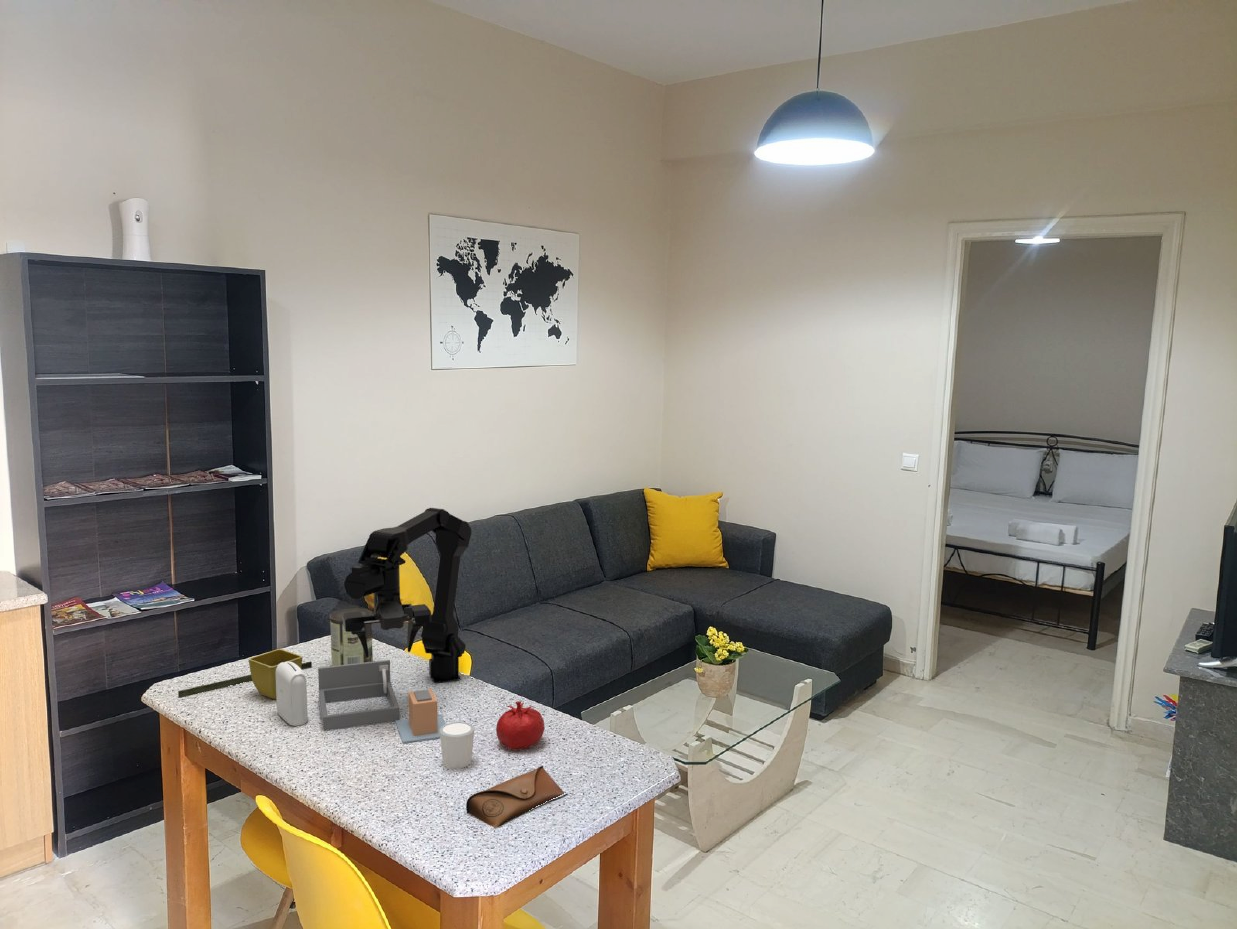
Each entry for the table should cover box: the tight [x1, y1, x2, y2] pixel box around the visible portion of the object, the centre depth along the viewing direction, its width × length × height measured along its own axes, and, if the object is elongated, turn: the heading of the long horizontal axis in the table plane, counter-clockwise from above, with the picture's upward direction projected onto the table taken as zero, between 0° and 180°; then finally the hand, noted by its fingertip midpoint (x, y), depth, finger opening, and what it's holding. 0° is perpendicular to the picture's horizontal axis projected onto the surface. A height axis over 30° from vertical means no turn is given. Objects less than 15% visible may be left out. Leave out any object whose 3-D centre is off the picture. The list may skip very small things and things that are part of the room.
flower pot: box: [247, 648, 303, 700], centre depth 206 cm, size 9×9×9 cm
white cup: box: [439, 721, 475, 769], centre depth 175 cm, size 7×7×7 cm
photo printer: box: [276, 661, 309, 727], centre depth 193 cm, size 10×4×12 cm, turn 39°
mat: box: [395, 713, 447, 744], centre depth 190 cm, size 10×11×1 cm
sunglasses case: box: [465, 765, 565, 829], centre depth 161 cm, size 18×7×7 cm, turn 137°
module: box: [408, 688, 439, 736], centre depth 189 cm, size 5×7×7 cm
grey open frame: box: [317, 659, 401, 732], centre depth 198 cm, size 16×17×8 cm
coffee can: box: [329, 607, 374, 666], centre depth 223 cm, size 10×10×14 cm
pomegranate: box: [495, 701, 546, 751], centre depth 184 cm, size 10×10×9 cm
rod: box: [177, 661, 313, 699], centre depth 214 cm, size 31×1×2 cm, turn 131°
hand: (388, 654), depth 199 cm, fingers open, 9 cm apart
